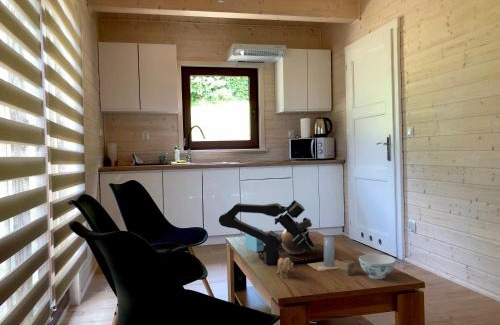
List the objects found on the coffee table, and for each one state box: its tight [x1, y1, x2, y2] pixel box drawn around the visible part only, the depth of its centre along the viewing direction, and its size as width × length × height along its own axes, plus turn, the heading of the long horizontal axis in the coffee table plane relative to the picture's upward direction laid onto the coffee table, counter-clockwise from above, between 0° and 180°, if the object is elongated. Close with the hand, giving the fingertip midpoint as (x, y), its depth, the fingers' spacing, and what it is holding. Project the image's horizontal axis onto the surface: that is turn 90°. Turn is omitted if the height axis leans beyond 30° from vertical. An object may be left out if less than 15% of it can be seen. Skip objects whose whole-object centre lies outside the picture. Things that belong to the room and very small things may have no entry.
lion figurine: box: [276, 257, 294, 279], centre depth 184 cm, size 15×5×9 cm, turn 16°
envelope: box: [307, 259, 341, 272], centre depth 196 cm, size 16×12×1 cm
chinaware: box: [358, 253, 397, 280], centre depth 179 cm, size 15×15×8 cm
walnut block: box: [338, 259, 357, 277], centre depth 185 cm, size 5×5×5 cm
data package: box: [244, 225, 265, 253], centre depth 228 cm, size 12×4×12 cm, turn 31°
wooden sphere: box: [280, 228, 311, 255], centre depth 218 cm, size 15×15×15 cm
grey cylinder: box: [323, 236, 335, 267], centre depth 195 cm, size 5×5×13 cm
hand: (313, 249), depth 197 cm, fingers open, 9 cm apart
